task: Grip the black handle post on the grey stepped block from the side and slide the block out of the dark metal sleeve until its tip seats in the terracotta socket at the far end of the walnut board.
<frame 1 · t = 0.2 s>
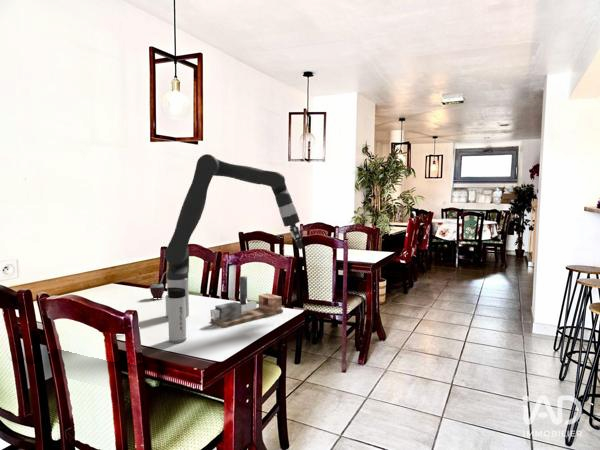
hand: (300, 247, 186), 31 cm above the table, tool tilted 20°, fingers open, 8 cm apart
mate gourd: (158, 298, 216), on the table
grey stepped block: (234, 295, 175), point 11 cm above the table, slide at 0.0 cm
travel mug: (177, 341, 151), on the table
tube rig: (243, 318, 179), on the table
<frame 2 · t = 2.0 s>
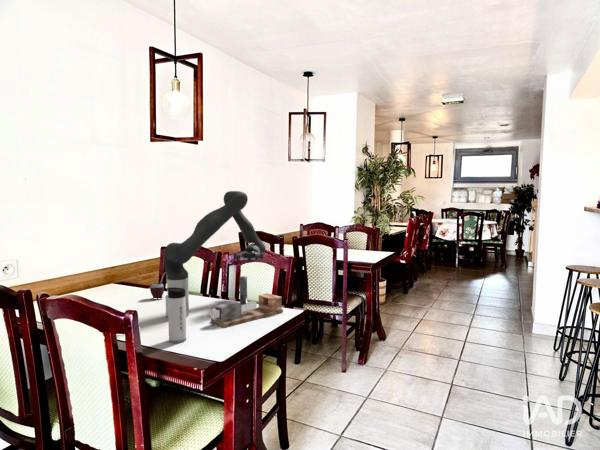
hand: (246, 257, 189), 25 cm above the table, tool horizontal, fingers open, 8 cm apart
nothing on the table moved.
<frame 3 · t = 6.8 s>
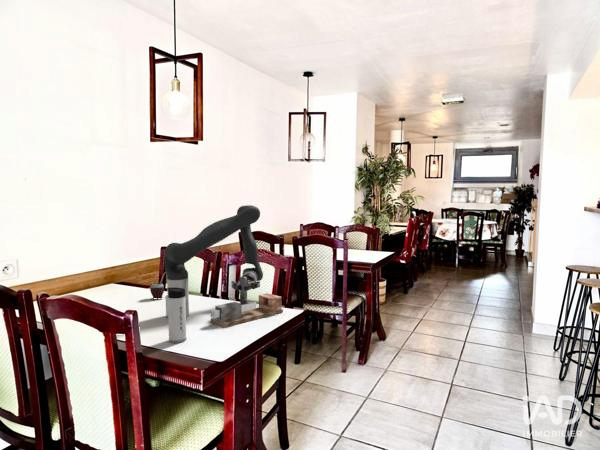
hand: (242, 288, 176), 14 cm above the table, tool horizontal, fingers closed on grey stepped block, 3 cm apart
grey stepped block: (234, 295, 175), point 11 cm above the table, slide at 0.0 cm, touching gripper
everything else where it was.
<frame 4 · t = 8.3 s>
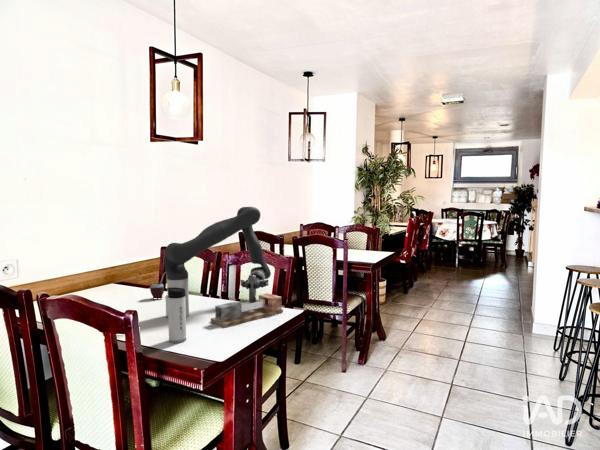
hand: (251, 286, 179), 14 cm above the table, tool horizontal, fingers closed on grey stepped block, 3 cm apart
grey stepped block: (243, 293, 179), point 11 cm above the table, slide at 5.0 cm, touching gripper
everything else where it was.
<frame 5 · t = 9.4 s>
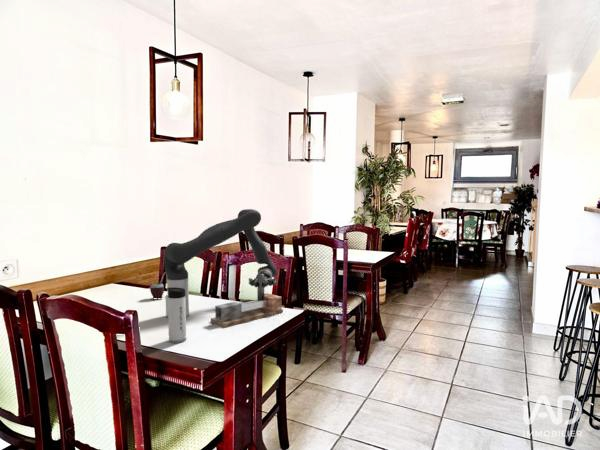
hand: (260, 285, 183), 14 cm above the table, tool horizontal, fingers closed on grey stepped block, 3 cm apart
grey stepped block: (252, 292, 182), point 11 cm above the table, slide at 9.8 cm, touching gripper
everything else where it was.
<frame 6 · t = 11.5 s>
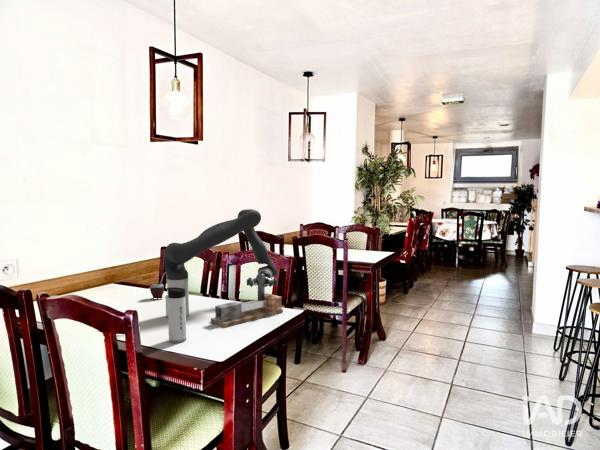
hand: (260, 284, 184), 14 cm above the table, tool horizontal, fingers open, 8 cm apart
grey stepped block: (252, 292, 182), point 11 cm above the table, slide at 10.0 cm
everything else where it was.
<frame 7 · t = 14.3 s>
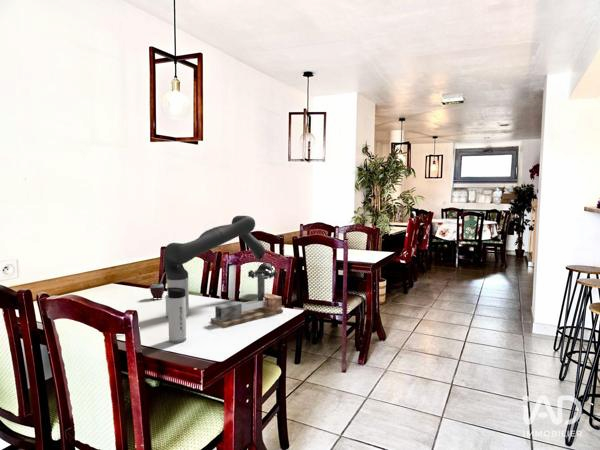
hand: (261, 276, 197), 15 cm above the table, tool horizontal, fingers open, 8 cm apart
nothing on the table moved.
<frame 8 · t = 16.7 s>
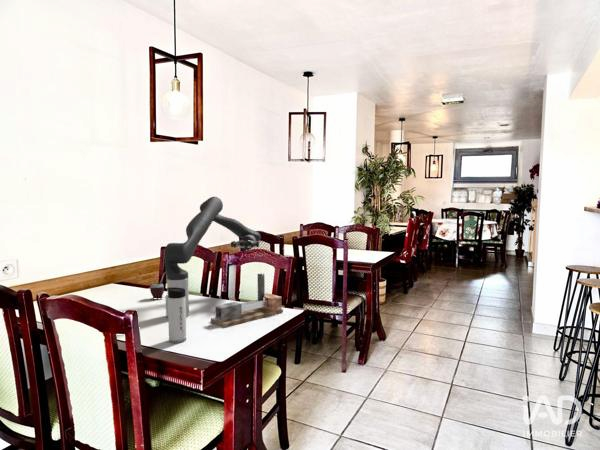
hand: (243, 245, 201), 30 cm above the table, tool horizontal, fingers open, 8 cm apart
nothing on the table moved.
at the end: grey stepped block slide at 10.0 cm; the gripper is holding nothing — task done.
